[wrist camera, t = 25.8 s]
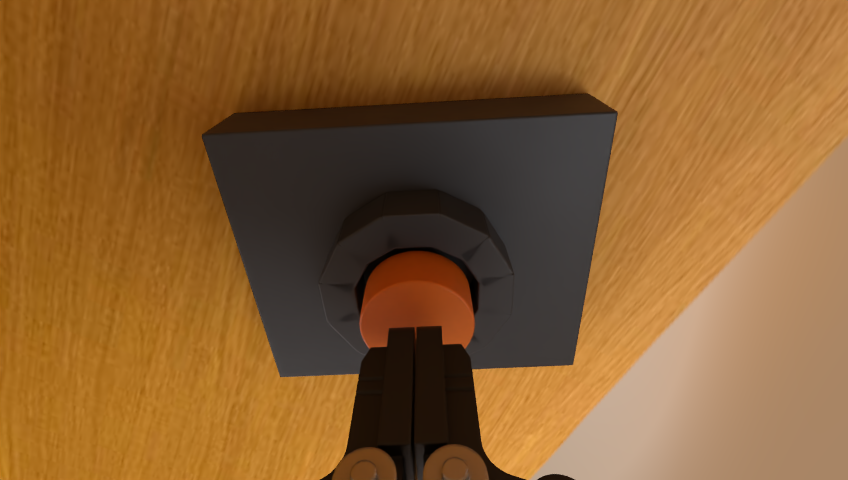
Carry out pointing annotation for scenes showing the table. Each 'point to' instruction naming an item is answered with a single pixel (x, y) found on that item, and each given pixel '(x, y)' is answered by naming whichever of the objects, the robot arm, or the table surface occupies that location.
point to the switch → (417, 298)
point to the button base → (417, 217)
